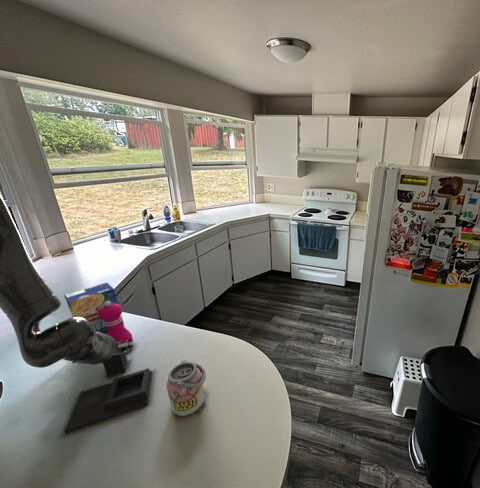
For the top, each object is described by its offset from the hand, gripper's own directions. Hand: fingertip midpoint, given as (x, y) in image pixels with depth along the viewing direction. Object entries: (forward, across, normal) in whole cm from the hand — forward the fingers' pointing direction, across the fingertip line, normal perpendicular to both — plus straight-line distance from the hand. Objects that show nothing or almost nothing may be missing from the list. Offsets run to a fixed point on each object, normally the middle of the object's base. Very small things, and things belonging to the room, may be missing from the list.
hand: (115, 353), depth 80 cm
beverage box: (+13, +6, -5) cm, 15 cm away
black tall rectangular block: (+2, 0, +5) cm, 5 cm away
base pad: (-6, -1, +14) cm, 15 cm away
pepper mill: (+9, 0, -2) cm, 9 cm away
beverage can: (-14, -20, +21) cm, 32 cm away
